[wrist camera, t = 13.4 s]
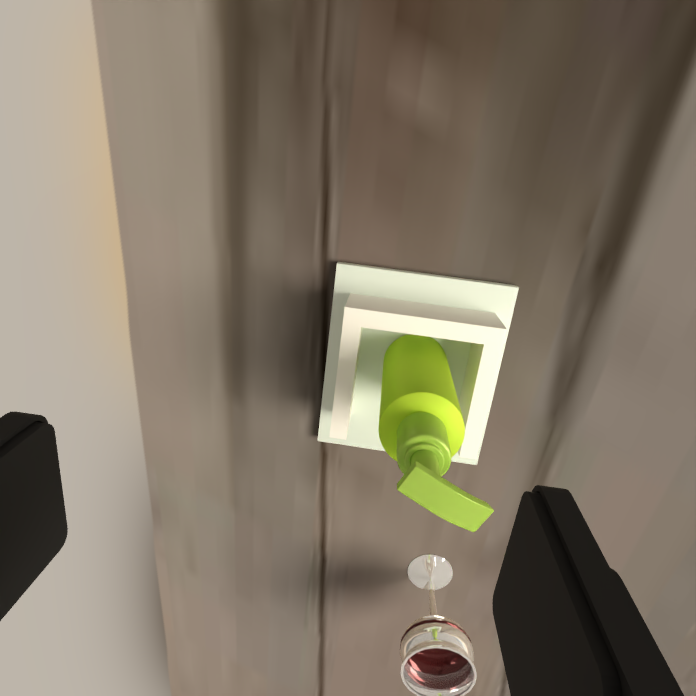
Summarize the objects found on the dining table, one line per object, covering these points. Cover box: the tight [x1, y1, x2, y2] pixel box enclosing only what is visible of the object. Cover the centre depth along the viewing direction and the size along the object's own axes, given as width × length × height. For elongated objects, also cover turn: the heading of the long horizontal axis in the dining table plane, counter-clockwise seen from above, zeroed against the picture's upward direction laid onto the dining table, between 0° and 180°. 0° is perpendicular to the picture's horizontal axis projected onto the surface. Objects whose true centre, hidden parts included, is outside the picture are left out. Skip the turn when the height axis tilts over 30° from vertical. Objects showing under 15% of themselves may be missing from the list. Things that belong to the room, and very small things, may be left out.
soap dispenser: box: [378, 334, 494, 532], centre depth 37 cm, size 6×7×20 cm
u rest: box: [318, 262, 519, 465], centre depth 45 cm, size 18×16×6 cm
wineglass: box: [400, 554, 477, 696], centre depth 50 cm, size 7×7×12 cm
